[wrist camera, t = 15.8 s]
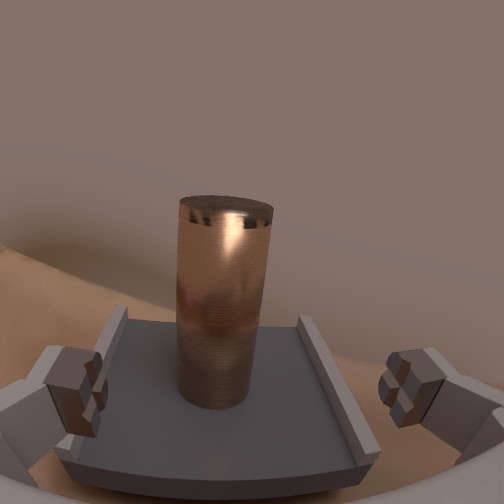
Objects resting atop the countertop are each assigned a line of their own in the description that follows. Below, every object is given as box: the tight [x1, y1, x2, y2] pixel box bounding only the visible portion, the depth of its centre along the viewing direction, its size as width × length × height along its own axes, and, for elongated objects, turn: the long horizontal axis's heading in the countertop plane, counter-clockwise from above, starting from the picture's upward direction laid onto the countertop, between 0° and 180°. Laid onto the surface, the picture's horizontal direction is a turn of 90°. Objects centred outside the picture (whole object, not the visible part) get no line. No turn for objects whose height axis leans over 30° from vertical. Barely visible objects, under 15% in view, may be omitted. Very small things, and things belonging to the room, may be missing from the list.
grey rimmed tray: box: [54, 305, 382, 500], centre depth 24 cm, size 20×18×7 cm
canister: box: [176, 195, 274, 410], centre depth 21 cm, size 6×6×14 cm
